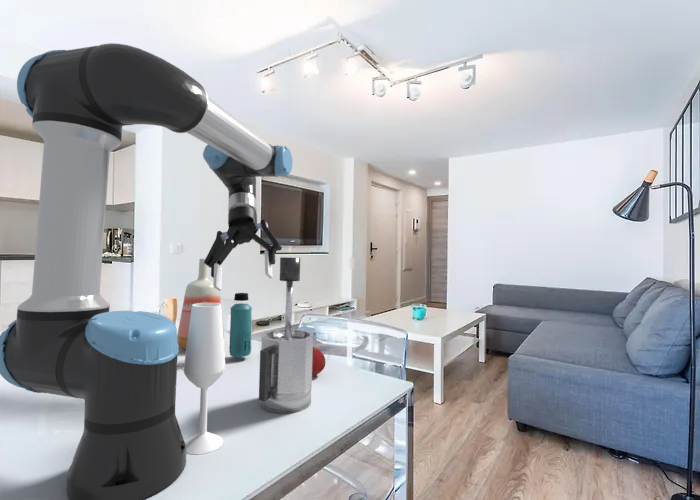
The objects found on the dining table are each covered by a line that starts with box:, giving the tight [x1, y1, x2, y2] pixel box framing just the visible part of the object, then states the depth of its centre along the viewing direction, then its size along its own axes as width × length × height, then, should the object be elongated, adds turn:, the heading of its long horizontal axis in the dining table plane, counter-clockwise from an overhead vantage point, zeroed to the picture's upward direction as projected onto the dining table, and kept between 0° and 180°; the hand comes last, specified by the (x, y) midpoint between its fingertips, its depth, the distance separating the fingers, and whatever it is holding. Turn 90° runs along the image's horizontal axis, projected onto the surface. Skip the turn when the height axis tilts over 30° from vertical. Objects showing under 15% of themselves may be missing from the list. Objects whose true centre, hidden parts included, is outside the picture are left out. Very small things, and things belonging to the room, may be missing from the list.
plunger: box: [277, 256, 301, 340], centre depth 82 cm, size 8×8×19 cm
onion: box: [312, 345, 326, 377], centre depth 99 cm, size 6×6×8 cm
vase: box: [177, 258, 225, 351], centre depth 123 cm, size 14×14×30 cm
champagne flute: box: [183, 303, 226, 455], centre depth 64 cm, size 7×7×24 cm
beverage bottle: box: [228, 292, 253, 358], centre depth 112 cm, size 6×7×20 cm
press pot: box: [258, 328, 314, 414], centre depth 80 cm, size 14×11×15 cm
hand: (243, 282), depth 91 cm, fingers open, 13 cm apart
